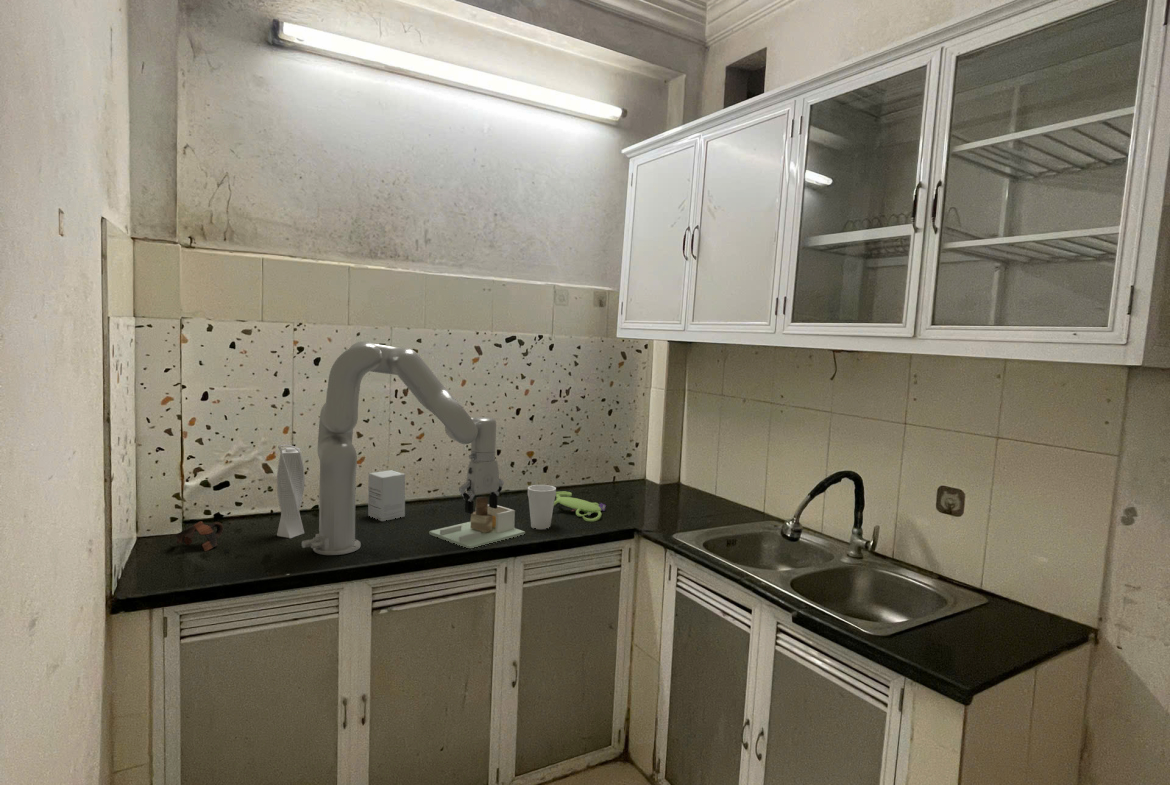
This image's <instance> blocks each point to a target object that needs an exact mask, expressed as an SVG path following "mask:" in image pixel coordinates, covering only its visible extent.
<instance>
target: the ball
mask: <svg viewBox="0 0 1170 785" xmlns="http://www.w3.org/2000/svg"><path fill="white" fill-rule="evenodd" d="M494 527H496V517H495V516H493V520H492V528H494Z"/></svg>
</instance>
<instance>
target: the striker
mask: <svg viewBox="0 0 1170 785" xmlns="http://www.w3.org/2000/svg"><path fill="white" fill-rule="evenodd" d="M475 502H476V504H475V511H473V514H470V522H471V528H472V529H475V530H478V531H481V532H484V533H486V532H490V531H492V520H493V515H490V514H487V512H488V505H489V498H488V497H487V496H479V497H476V498H475Z"/></svg>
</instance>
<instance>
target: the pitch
mask: <svg viewBox="0 0 1170 785" xmlns="http://www.w3.org/2000/svg"><path fill="white" fill-rule="evenodd" d="M515 512H516V510H514V509H511V508H509V507H505V506H501V505H498V504H497V508H496V509H495V508H491V507H489V504H488V512H487V514H490V515H493V516H495V517H496V527H494V528H492V531H490V532H486V533H484V532H481V531H478V530H475V529H472V528H471V521H467V522H463V523H459V524H454V525H450V526H445V527H441V528H437V529H432V530H429V532H428V533H429V534H428V535H430V536H433V537H435V538H437V537H438V539H440V540H443V541H445V540H446V542H448V541H449V543H451V544H453V543H455V544H454V545H456V544H457V545H456V546H459V545H460V546H459V547H461V546H463V547H462V548H464V547H466V548H474V547H478V546H481V545H485V544H489V543H493V542H496V543H498V542H497V541H500V542H502V541H501V540H504V541H506V540H505V539H507V540H510V539H509V538H511V539H513V537H514V538H518V537H521V536H520V535H522V536H525V535H526V531H524V530H521V529H519V528H516V527H515V520H516V519H515V518H516V517H515V516H516V515H515ZM524 534H525V535H524ZM517 536H518V537H517ZM493 544H494V543H493ZM489 545H490V544H489ZM485 546H486V545H485ZM466 548H465V549H466ZM478 548H479V547H478Z"/></svg>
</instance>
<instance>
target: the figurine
mask: <svg viewBox="0 0 1170 785" xmlns="http://www.w3.org/2000/svg"><path fill="white" fill-rule="evenodd" d="M572 496H573V493H572V492H570V491H566V490H565V491H563V490H562V491H556V496H555V500H554V506H556V505H557V504H561V505H563V506H565V507H568V508H570V509H572V510H570V512H575V515H576V516H577V517H582V519H583V520H584V521H586V522H597V521H599V520H600V519H601V517H602V512H605V510H606V506H607V505H606V504H605V503H602V502H600V501H598V502H591V501H588V500H585V499H580V498H577V497H572ZM580 511H581V512H583V513H584V514H581V513H580ZM601 511H602V512H601ZM593 513H597V516H595V517H593V518H587V517H585V516H589V517H591V514H593Z"/></svg>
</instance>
